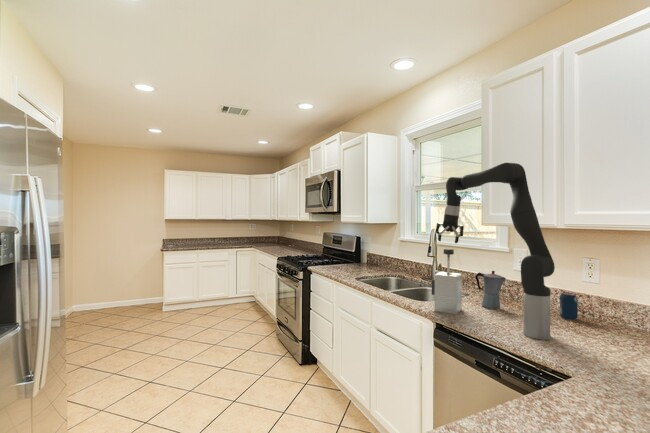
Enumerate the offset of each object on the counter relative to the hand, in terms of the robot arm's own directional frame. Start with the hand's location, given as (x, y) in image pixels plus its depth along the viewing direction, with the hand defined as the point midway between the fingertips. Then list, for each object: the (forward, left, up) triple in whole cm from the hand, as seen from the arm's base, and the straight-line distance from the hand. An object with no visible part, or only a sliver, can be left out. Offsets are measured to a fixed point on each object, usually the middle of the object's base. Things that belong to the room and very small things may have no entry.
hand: (447, 242), depth 178 cm
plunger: (-3, +11, -23) cm, 26 cm away
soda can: (-54, -10, -35) cm, 65 cm away
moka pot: (-20, -9, -35) cm, 41 cm away
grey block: (-2, +11, -35) cm, 37 cm away
